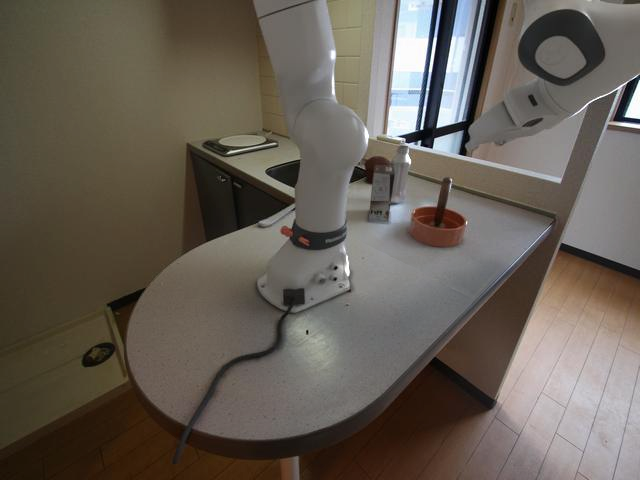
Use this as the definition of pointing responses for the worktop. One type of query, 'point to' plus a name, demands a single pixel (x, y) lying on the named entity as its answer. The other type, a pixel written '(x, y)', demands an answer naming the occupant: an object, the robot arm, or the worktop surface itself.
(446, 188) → the stirring stick
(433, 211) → the bowl
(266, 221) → the spoon
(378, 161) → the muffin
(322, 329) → the worktop surface
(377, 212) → the coffee box
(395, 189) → the plastic bottle
